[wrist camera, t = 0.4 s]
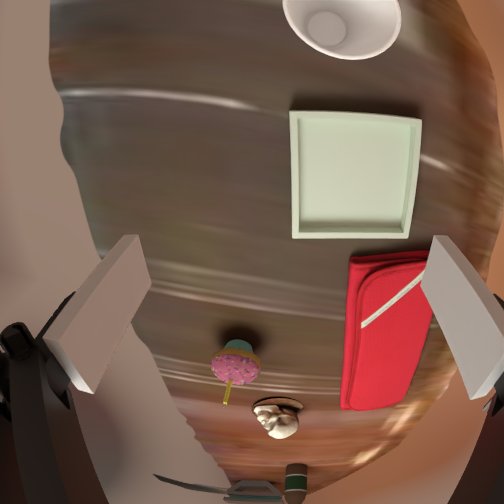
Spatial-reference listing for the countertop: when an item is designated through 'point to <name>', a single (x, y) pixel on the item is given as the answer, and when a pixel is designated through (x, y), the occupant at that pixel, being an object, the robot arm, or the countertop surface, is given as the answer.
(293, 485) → the beer bottle
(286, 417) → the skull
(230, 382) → the cupcake
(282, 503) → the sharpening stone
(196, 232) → the countertop surface
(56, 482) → the robot arm
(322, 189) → the tray
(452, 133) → the countertop surface
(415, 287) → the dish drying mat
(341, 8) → the cup
